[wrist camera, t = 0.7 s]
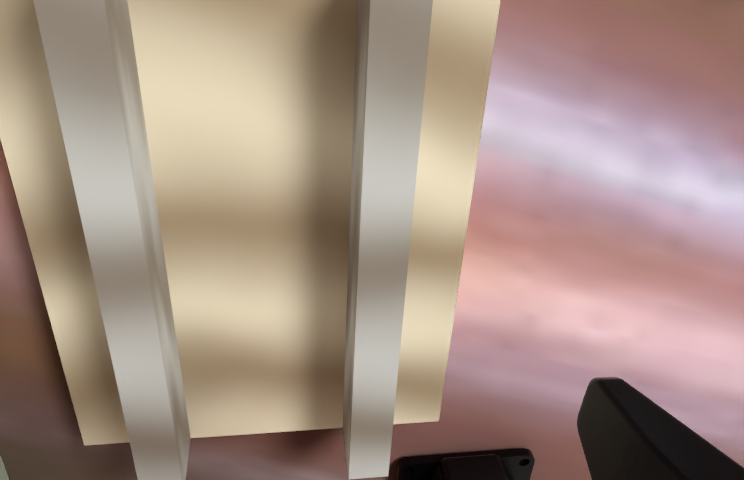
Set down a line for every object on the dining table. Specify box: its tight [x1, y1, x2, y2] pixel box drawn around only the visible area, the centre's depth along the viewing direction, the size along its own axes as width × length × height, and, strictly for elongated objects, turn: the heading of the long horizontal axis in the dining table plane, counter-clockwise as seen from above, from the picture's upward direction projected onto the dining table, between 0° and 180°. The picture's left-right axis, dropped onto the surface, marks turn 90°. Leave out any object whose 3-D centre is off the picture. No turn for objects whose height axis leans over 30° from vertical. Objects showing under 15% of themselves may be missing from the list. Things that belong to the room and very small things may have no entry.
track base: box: [0, 0, 500, 480], centre depth 21 cm, size 18×14×4 cm
